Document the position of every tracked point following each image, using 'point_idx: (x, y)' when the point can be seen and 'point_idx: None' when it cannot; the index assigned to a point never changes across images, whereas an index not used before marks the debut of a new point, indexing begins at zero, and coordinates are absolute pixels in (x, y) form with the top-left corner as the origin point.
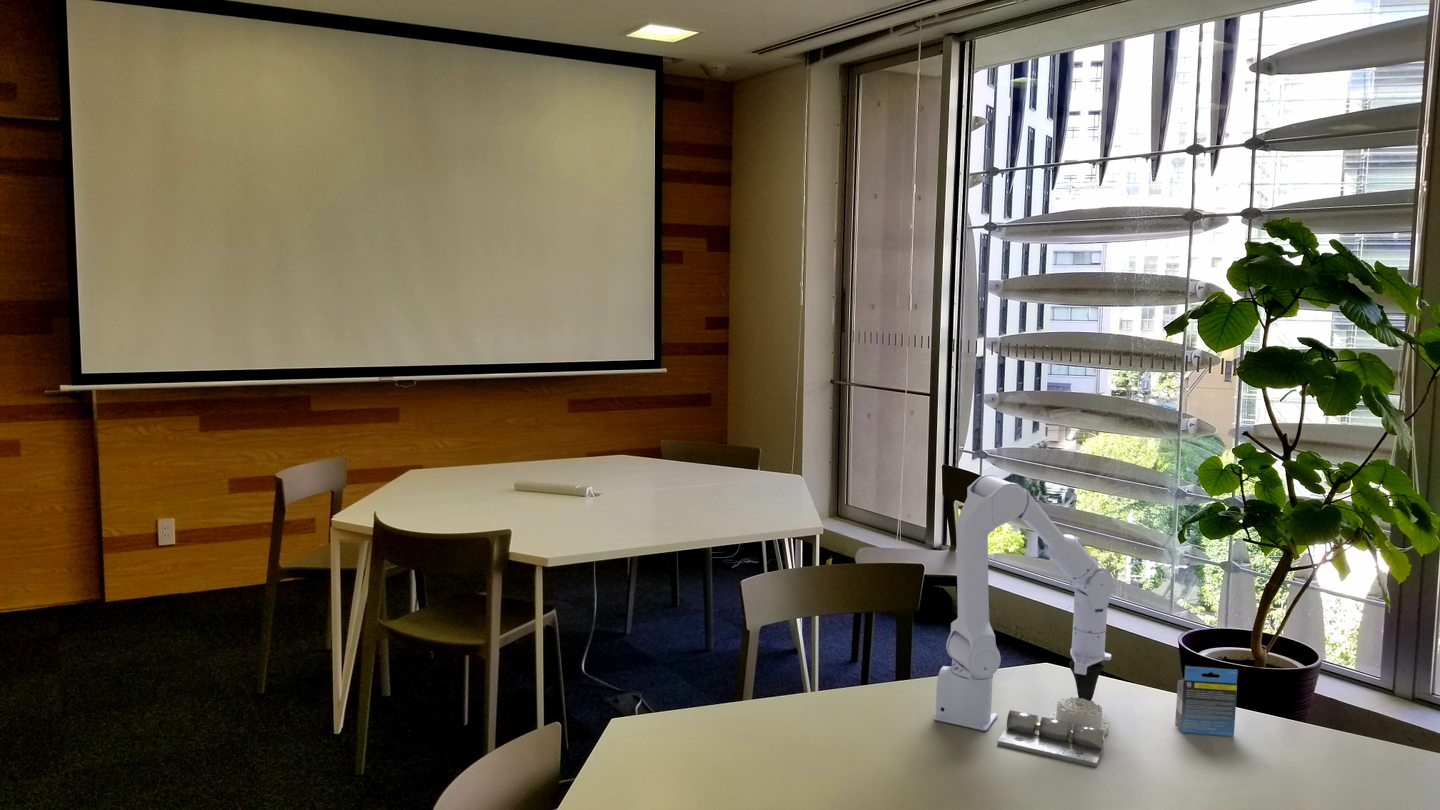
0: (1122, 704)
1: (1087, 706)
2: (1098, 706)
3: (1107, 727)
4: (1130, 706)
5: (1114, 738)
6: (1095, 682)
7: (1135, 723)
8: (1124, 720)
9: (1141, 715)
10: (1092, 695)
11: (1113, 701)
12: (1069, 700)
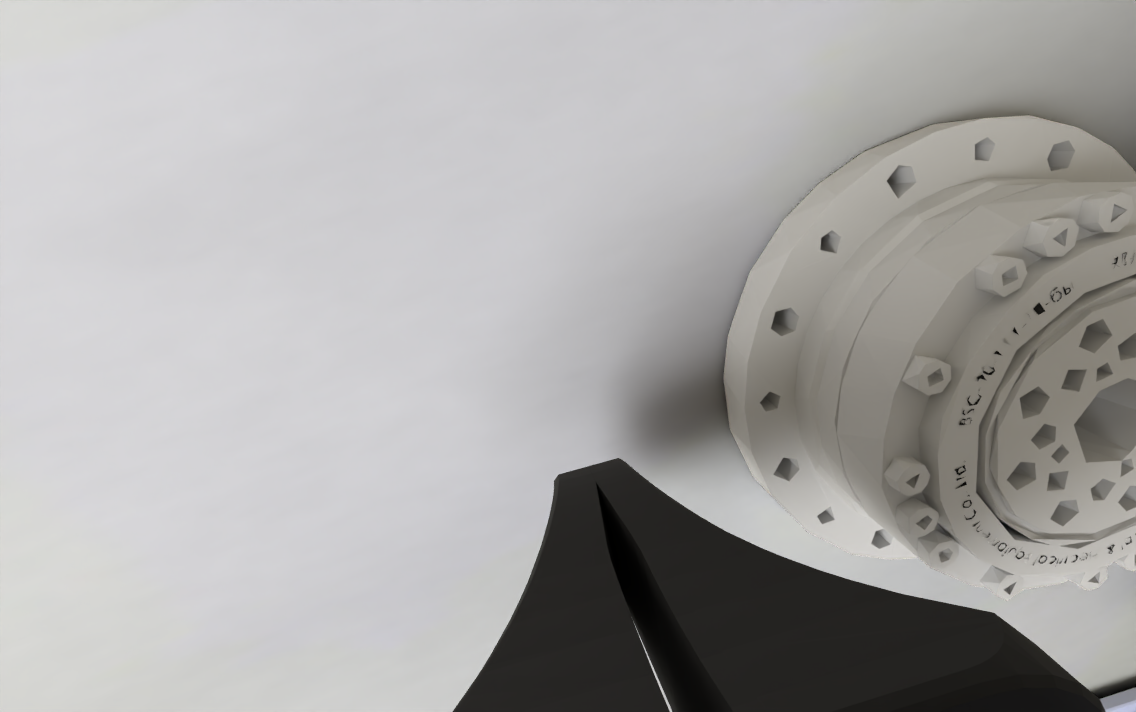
0: (186, 298)
1: (1110, 347)
2: (1019, 269)
3: (975, 125)
4: (162, 220)
5: (987, 42)
6: (732, 553)
7: (547, 10)
8: (553, 126)
9: (296, 36)
10: (641, 477)
11: (193, 387)
12: (1055, 533)
